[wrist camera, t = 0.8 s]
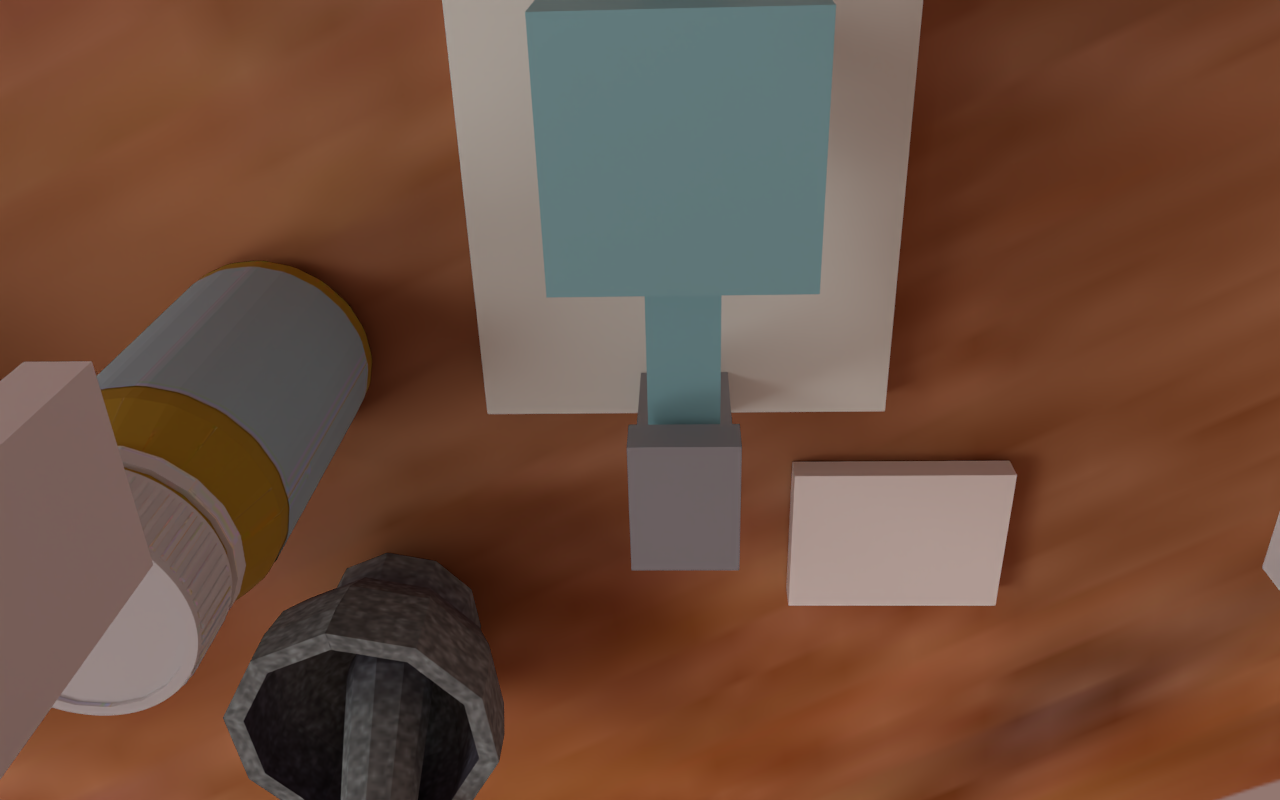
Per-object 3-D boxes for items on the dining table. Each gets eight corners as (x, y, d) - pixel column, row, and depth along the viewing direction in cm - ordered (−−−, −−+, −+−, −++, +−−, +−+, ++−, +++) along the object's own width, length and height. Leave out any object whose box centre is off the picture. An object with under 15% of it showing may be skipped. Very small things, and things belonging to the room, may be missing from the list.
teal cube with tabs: (581, 435, 31) (564, 540, 27) (532, -363, 22) (493, -410, 18) (787, 434, 31) (805, 540, 27) (823, -374, 22) (860, -425, 17)
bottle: (349, 243, 36) (161, 485, 23) (396, 421, 40) (254, 720, 27) (154, 264, 37) (-137, 510, 24) (216, 437, 40) (-10, 737, 27)
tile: (786, 589, 43) (788, 605, 42) (792, 461, 40) (794, 476, 39) (988, 589, 42) (995, 605, 42) (1009, 460, 40) (1017, 475, 39)
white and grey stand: (492, 398, 39) (428, 593, 29) (404, -439, 27) (248, -582, 18) (879, 394, 38) (947, 593, 29) (956, -462, 27) (1114, -624, 17)
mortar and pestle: (261, 526, 42) (122, 761, 32) (493, 505, 41) (429, 740, 31) (336, 733, 48) (238, 993, 37) (543, 718, 47) (503, 981, 36)
